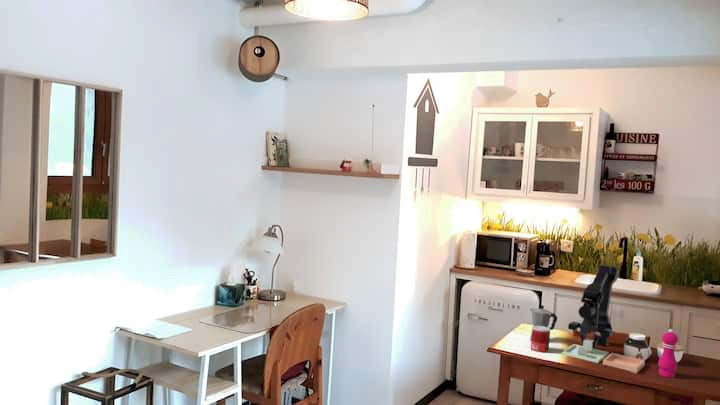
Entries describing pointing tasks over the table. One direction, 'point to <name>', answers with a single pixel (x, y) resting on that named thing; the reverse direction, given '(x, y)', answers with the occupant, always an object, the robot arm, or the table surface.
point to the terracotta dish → (624, 362)
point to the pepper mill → (668, 355)
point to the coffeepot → (542, 318)
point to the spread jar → (637, 346)
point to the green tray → (592, 355)
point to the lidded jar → (677, 352)
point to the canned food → (540, 339)
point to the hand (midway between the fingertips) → (588, 347)
